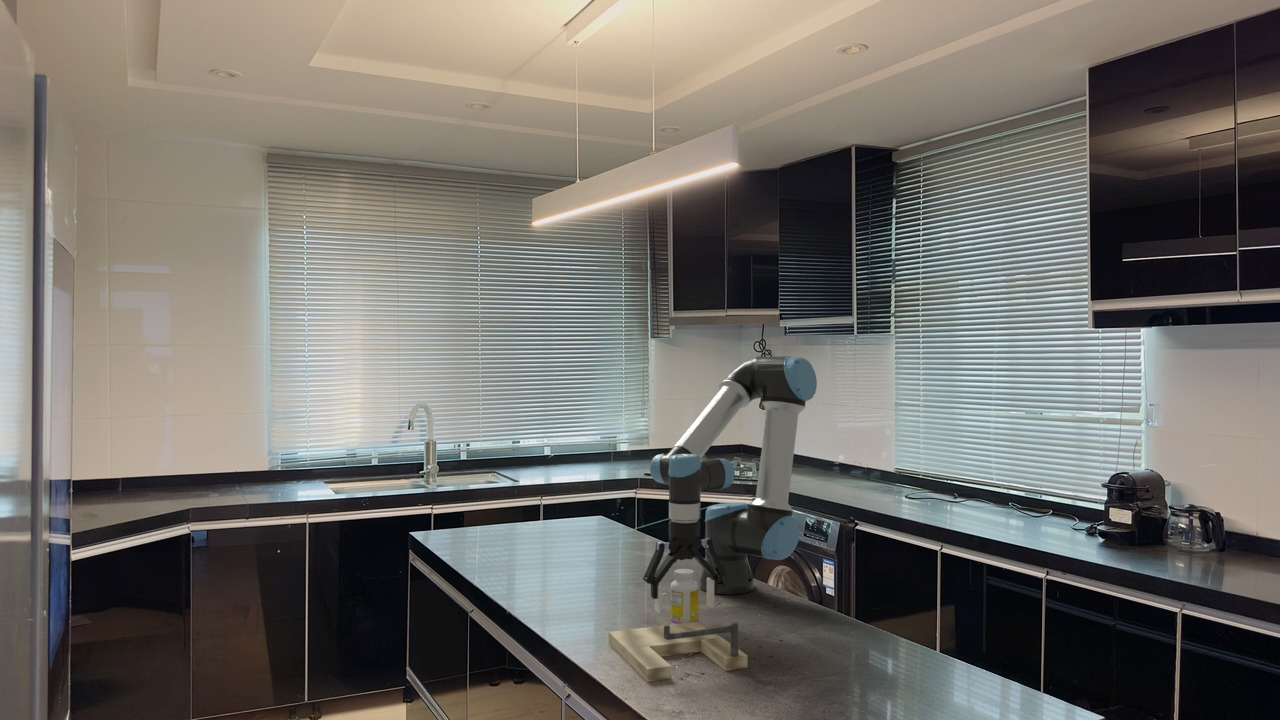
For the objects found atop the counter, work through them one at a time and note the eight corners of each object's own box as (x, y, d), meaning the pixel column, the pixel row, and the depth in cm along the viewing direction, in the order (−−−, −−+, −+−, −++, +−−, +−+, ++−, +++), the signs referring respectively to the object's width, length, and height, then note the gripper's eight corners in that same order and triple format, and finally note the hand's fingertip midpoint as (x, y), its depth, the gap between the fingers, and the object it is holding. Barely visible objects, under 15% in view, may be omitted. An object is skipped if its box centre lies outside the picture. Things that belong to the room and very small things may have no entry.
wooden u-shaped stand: (698, 632, 197) (698, 588, 197) (747, 667, 174) (747, 617, 174) (608, 643, 189) (608, 597, 189) (647, 681, 167) (647, 629, 167)
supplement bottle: (697, 620, 206) (697, 567, 206) (699, 629, 199) (700, 574, 199) (669, 620, 205) (669, 567, 205) (671, 629, 199) (671, 574, 199)
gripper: (724, 513, 210) (724, 599, 210) (629, 520, 201) (629, 610, 201) (738, 519, 203) (738, 608, 203) (641, 526, 194) (640, 619, 194)
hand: (684, 609), depth 202 cm, fingers open, 13 cm apart
